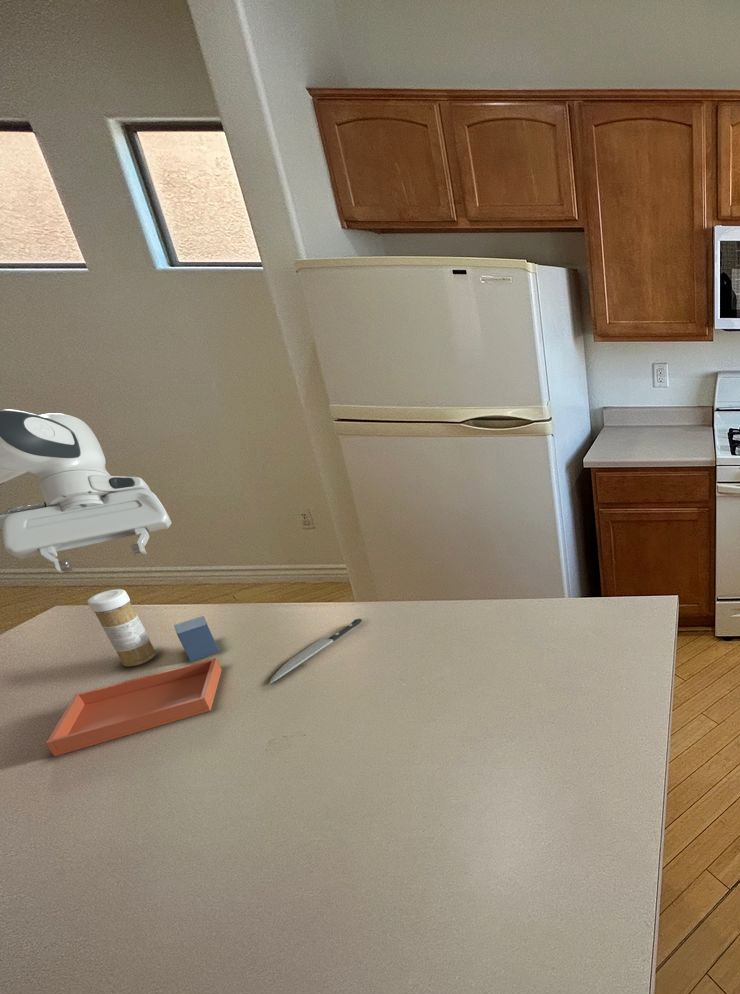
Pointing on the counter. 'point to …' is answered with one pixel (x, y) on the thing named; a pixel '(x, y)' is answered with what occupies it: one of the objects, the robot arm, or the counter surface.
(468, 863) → the counter surface
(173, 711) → the tray
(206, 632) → the blue block
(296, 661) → the chef's knife
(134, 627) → the sprinkles bottle
